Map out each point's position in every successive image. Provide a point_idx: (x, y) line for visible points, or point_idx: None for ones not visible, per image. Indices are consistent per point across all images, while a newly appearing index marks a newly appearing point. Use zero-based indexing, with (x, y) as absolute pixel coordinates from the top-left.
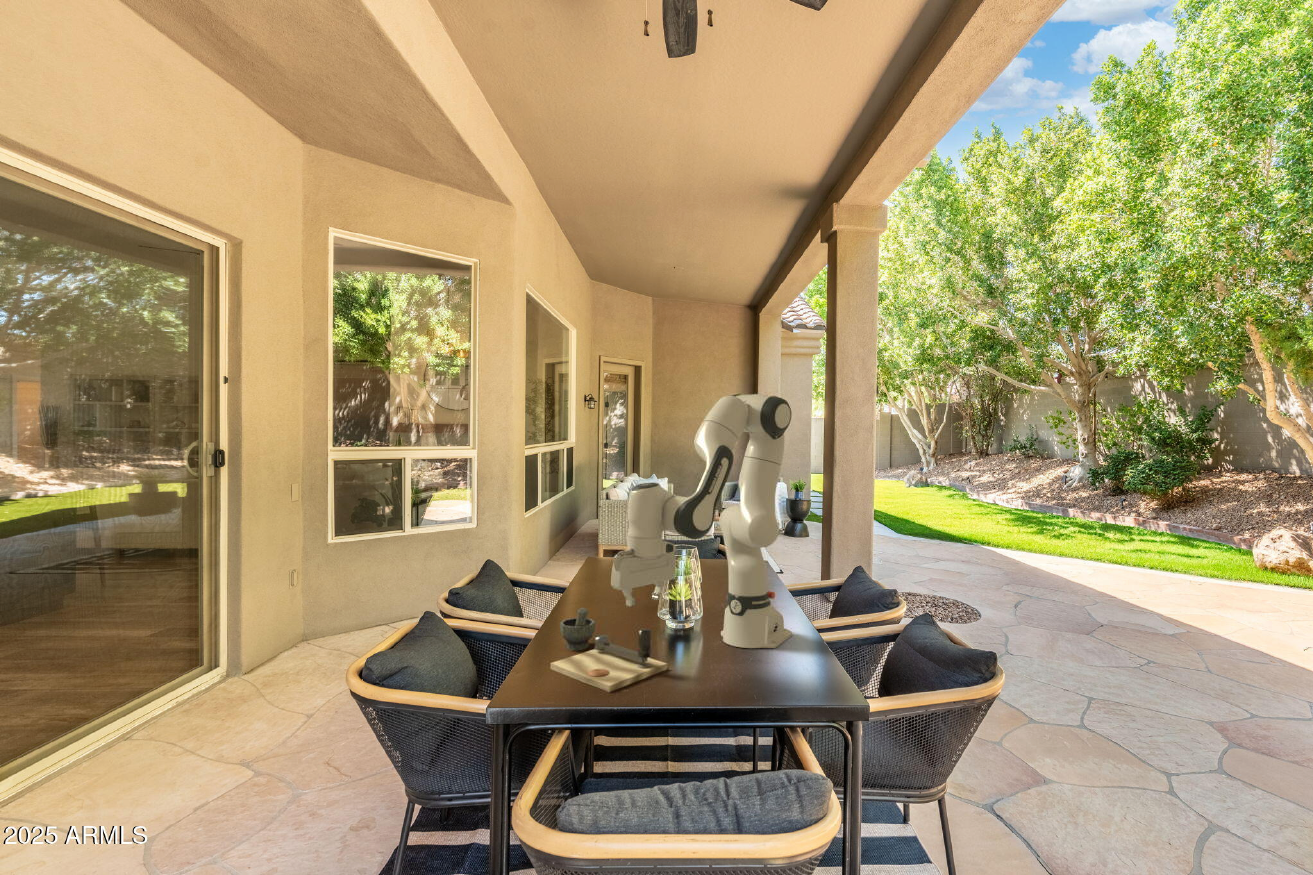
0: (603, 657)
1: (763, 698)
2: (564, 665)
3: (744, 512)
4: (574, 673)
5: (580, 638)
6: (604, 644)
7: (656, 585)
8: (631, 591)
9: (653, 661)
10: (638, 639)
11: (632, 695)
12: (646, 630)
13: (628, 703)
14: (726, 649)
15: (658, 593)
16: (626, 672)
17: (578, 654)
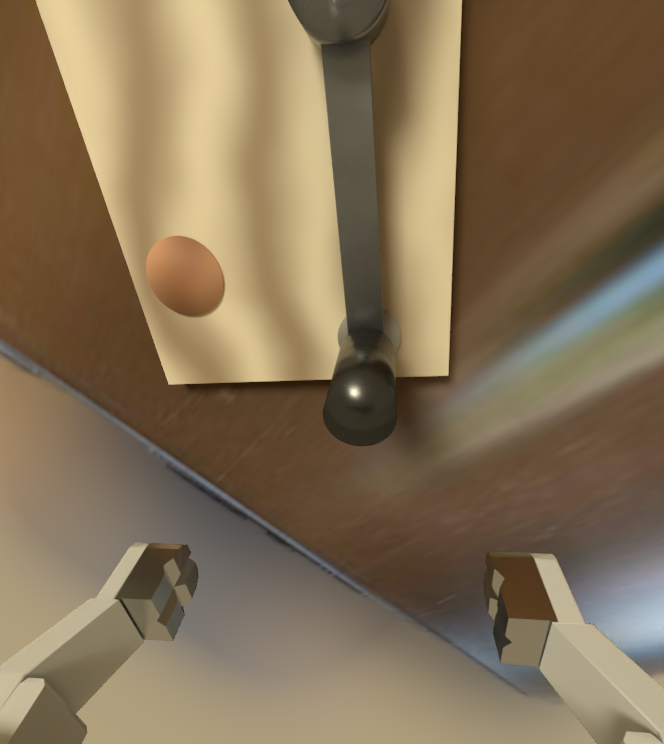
0: (296, 116)
1: (449, 611)
2: (88, 80)
3: None
4: (108, 200)
5: None
6: (325, 48)
7: (640, 717)
8: (71, 738)
9: (429, 326)
10: (333, 374)
11: (223, 429)
12: (361, 427)
13: (189, 453)
14: None
15: (524, 658)
16: (273, 340)
17: None
